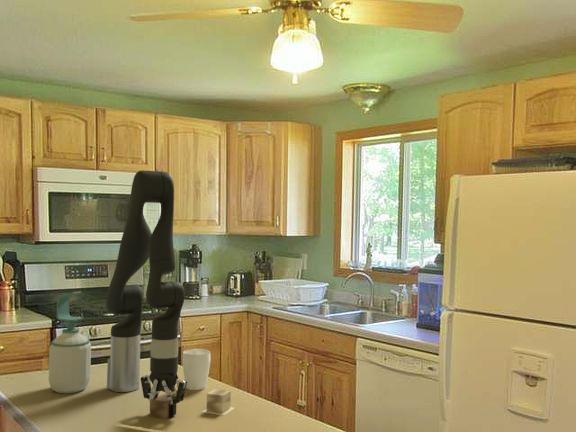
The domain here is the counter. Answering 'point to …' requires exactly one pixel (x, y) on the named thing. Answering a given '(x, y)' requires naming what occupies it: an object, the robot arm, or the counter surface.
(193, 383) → the cup
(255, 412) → the counter surface
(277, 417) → the counter surface
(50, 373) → the soap bottle
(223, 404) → the maple block
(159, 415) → the walnut block
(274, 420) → the counter surface
